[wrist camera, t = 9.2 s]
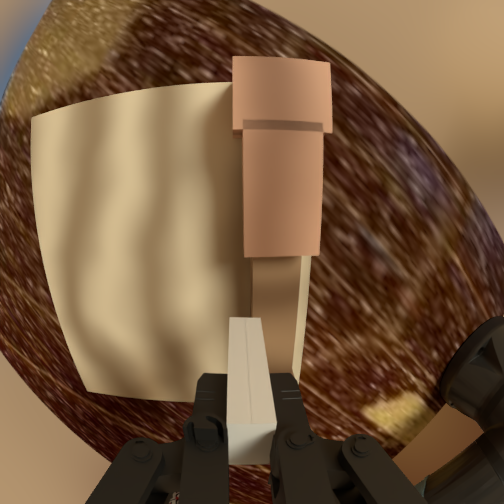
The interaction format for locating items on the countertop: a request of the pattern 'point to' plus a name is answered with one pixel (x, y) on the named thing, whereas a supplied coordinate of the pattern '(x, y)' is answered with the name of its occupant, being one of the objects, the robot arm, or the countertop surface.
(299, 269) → the link
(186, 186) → the board
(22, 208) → the countertop surface
